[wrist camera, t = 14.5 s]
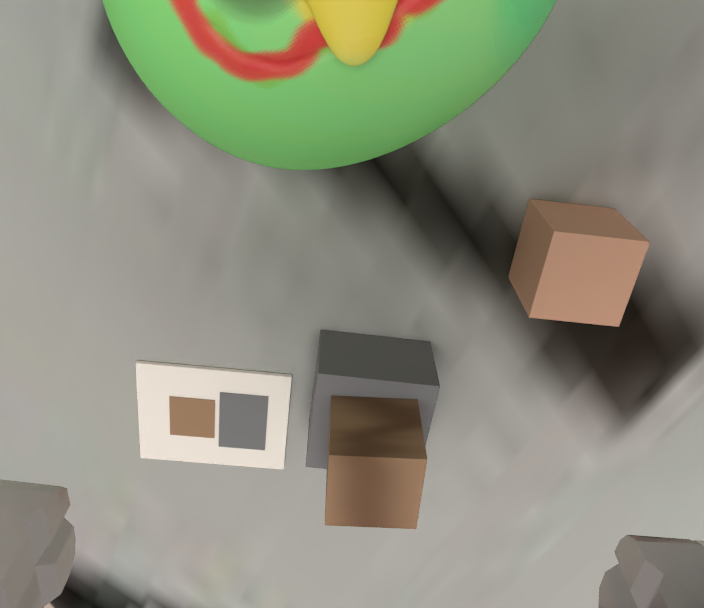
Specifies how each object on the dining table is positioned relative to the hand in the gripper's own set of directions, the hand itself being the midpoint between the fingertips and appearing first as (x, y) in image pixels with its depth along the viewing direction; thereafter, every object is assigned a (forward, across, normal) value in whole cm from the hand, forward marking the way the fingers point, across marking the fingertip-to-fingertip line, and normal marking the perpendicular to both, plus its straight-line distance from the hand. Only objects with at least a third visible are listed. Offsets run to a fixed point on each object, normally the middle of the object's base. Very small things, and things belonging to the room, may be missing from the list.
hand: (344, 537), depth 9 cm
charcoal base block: (+28, -2, +17) cm, 33 cm away
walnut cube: (+23, -3, +17) cm, 29 cm away
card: (+27, +8, +21) cm, 35 cm away
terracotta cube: (+28, -12, +6) cm, 32 cm away
